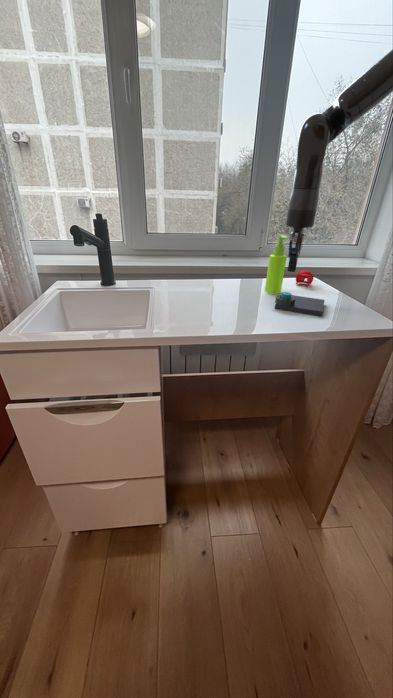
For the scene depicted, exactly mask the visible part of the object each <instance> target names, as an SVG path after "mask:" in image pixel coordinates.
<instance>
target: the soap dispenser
mask: <svg viewBox="0 0 393 698" xmlns="http://www.w3.org/2000/svg"><path fill="white" fill-rule="evenodd" d="M276 237H278V239H277V243H276V244H274V248H273V253H272V254H269V258H268V264H267V271H266V279H265V286H264V292H265V293H267V294H273V295H280V294H282V287H283V281H284V275H285V269H286V264H287V257H288V255H286V254H284V253H285V248H286V246H285V244H283V243H284V240H289V237H288V236H287V235H286V234H277V235H276Z"/></svg>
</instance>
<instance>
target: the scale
mask: <svg viewBox="0 0 393 698" xmlns="http://www.w3.org/2000/svg"><path fill="white" fill-rule="evenodd" d="M325 300H326V299H323V298H322V299H321V298H315V297H308V296H307V297H306V296H300V295H296V294H295V295H294V294H291V299H289V300H286V299H282V298H281V294H276V296H275V301H274V304H275V305H274V310H278V311H284V312H289V313H297V314H303V315H308V316H315V317H320V318H321V317H322V316H323V312H324V306H325Z"/></svg>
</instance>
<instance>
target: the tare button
mask: <svg viewBox="0 0 393 698" xmlns="http://www.w3.org/2000/svg"><path fill="white" fill-rule="evenodd" d="M280 295H281V298H282V299H286V300H289V299H291V295H292V293H291V292H288V291H281V293H280Z"/></svg>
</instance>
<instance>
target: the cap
mask: <svg viewBox="0 0 393 698" xmlns="http://www.w3.org/2000/svg"><path fill="white" fill-rule="evenodd" d="M313 282H314V275H313V272H312V271H310V270H306V269H305V270H301V271H300V270H299V271H298V272H297V274H296V275H295V284H296V285H298V284H300V283H301V284H305V286H306V287H309V286H311V285H312V283H313Z"/></svg>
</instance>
